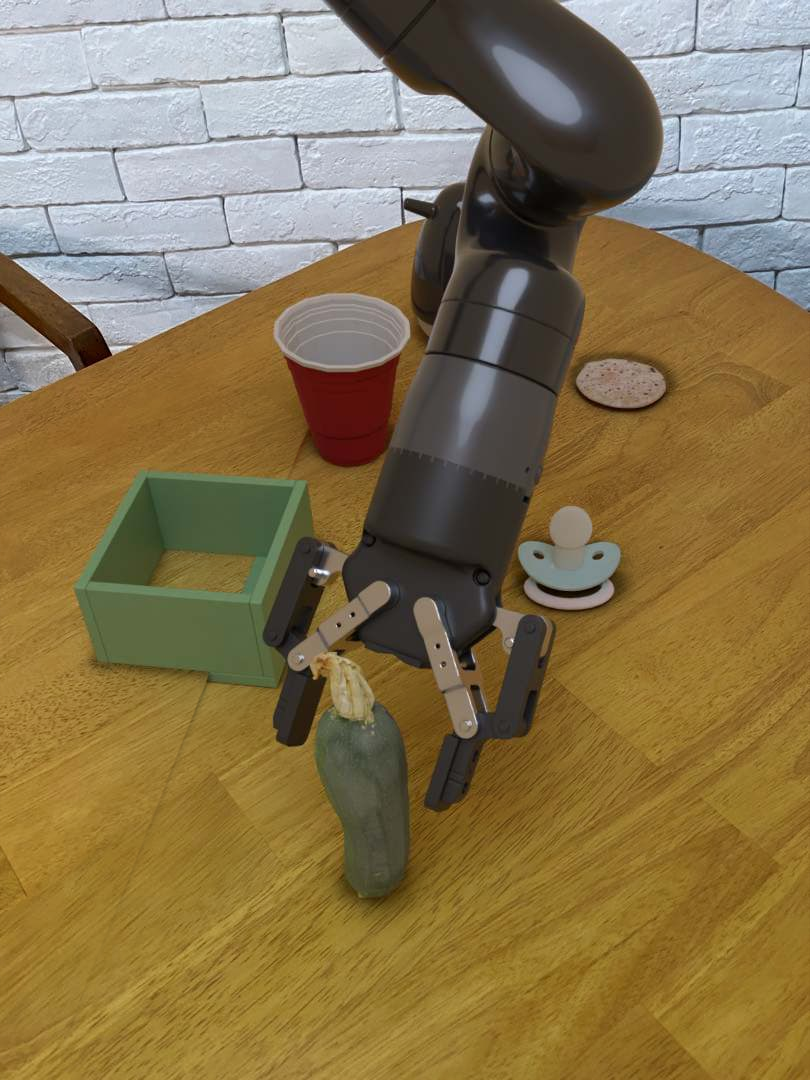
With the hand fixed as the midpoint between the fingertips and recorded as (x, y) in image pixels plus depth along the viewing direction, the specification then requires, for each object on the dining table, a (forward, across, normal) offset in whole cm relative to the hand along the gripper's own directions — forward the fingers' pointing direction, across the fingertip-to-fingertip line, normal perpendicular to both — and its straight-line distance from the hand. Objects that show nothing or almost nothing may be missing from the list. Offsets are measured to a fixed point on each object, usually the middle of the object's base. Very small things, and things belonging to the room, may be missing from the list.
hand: (361, 775), depth 56 cm
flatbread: (-30, -7, +46) cm, 56 cm away
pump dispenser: (-32, -24, +48) cm, 62 cm away
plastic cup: (-17, -24, +34) cm, 45 cm away
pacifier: (-12, -1, +28) cm, 31 cm away
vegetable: (+8, 0, +8) cm, 12 cm away
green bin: (-2, -22, +18) cm, 29 cm away
